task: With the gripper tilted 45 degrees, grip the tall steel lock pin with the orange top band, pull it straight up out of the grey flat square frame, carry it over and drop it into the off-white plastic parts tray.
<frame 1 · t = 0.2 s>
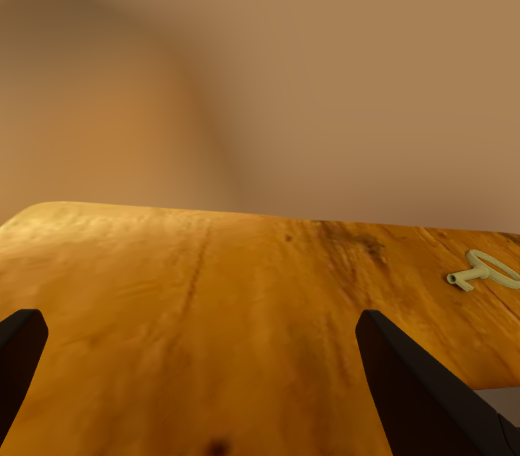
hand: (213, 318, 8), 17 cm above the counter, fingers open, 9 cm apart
key: (476, 278, 39), on the counter
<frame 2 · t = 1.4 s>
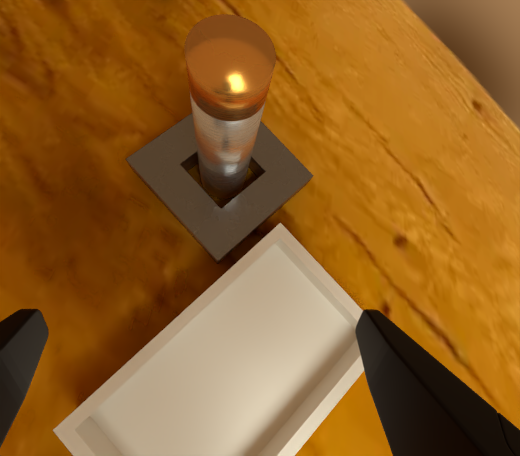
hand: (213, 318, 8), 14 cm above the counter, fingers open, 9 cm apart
grey flat square frame: (222, 178, 24), on the counter
parts tray: (235, 368, 21), on the counter
lock pin: (222, 178, 24), resting in grey flat square frame
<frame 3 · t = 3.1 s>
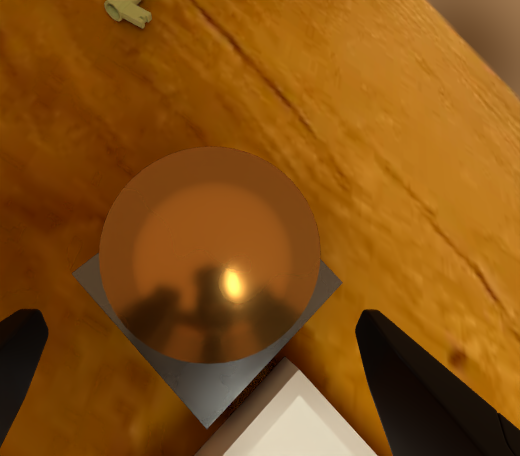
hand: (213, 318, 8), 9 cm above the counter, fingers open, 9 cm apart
grey flat square frame: (215, 280, 17), on the counter
lock pin: (215, 280, 17), resting in grey flat square frame
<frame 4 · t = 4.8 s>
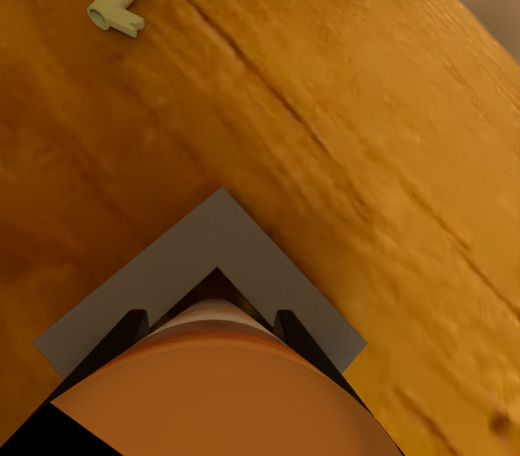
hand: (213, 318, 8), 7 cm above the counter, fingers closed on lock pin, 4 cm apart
grey flat square frame: (213, 335, 14), on the counter
lock pin: (213, 335, 14), resting in grey flat square frame, touching gripper
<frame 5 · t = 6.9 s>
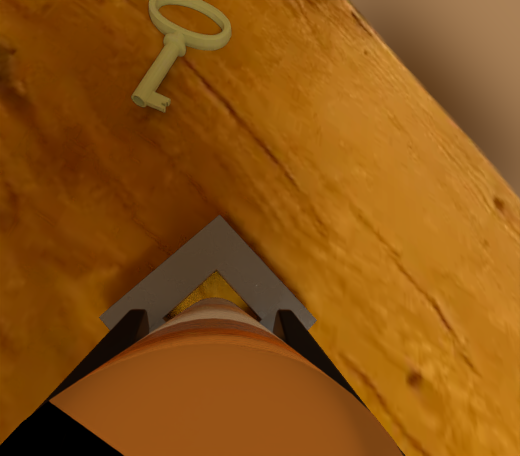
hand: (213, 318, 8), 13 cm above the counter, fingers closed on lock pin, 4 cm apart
grey flat square frame: (213, 316, 21), on the counter
key: (177, 56, 26), on the counter
lock pin: (213, 334, 14), point 7 cm above the counter, touching gripper
when the fingers open (9 cm above the counter, at t = 9.3 s): lock pin drops 1 cm, resting on parts tray.
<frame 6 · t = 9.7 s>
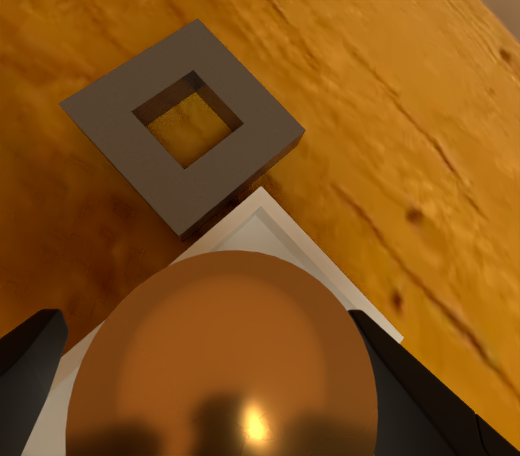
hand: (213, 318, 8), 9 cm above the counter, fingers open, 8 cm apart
grey flat square frame: (191, 135, 19), on the counter
parts tray: (204, 375, 16), on the counter
lock pin: (213, 332, 16), point 1 cm above the counter, touching parts tray
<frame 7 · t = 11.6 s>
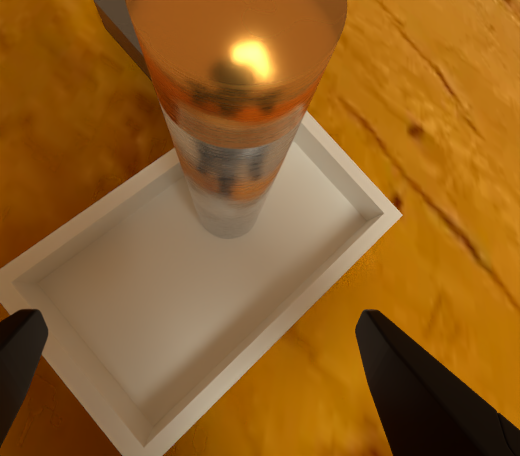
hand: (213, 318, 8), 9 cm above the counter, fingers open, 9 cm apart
grey flat square frame: (211, 45, 21), on the counter
parts tray: (218, 251, 18), on the counter
lock pin: (228, 209, 17), point 1 cm above the counter, touching parts tray
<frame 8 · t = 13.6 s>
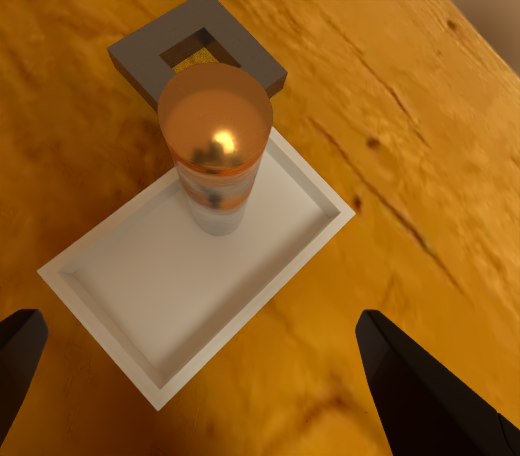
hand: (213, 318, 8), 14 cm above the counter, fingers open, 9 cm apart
grey flat square frame: (202, 78, 25), on the counter
parts tray: (212, 246, 22), on the counter
lock pin: (219, 212, 22), point 1 cm above the counter, touching parts tray
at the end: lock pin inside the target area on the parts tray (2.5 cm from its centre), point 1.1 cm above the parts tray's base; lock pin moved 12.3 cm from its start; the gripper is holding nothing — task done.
